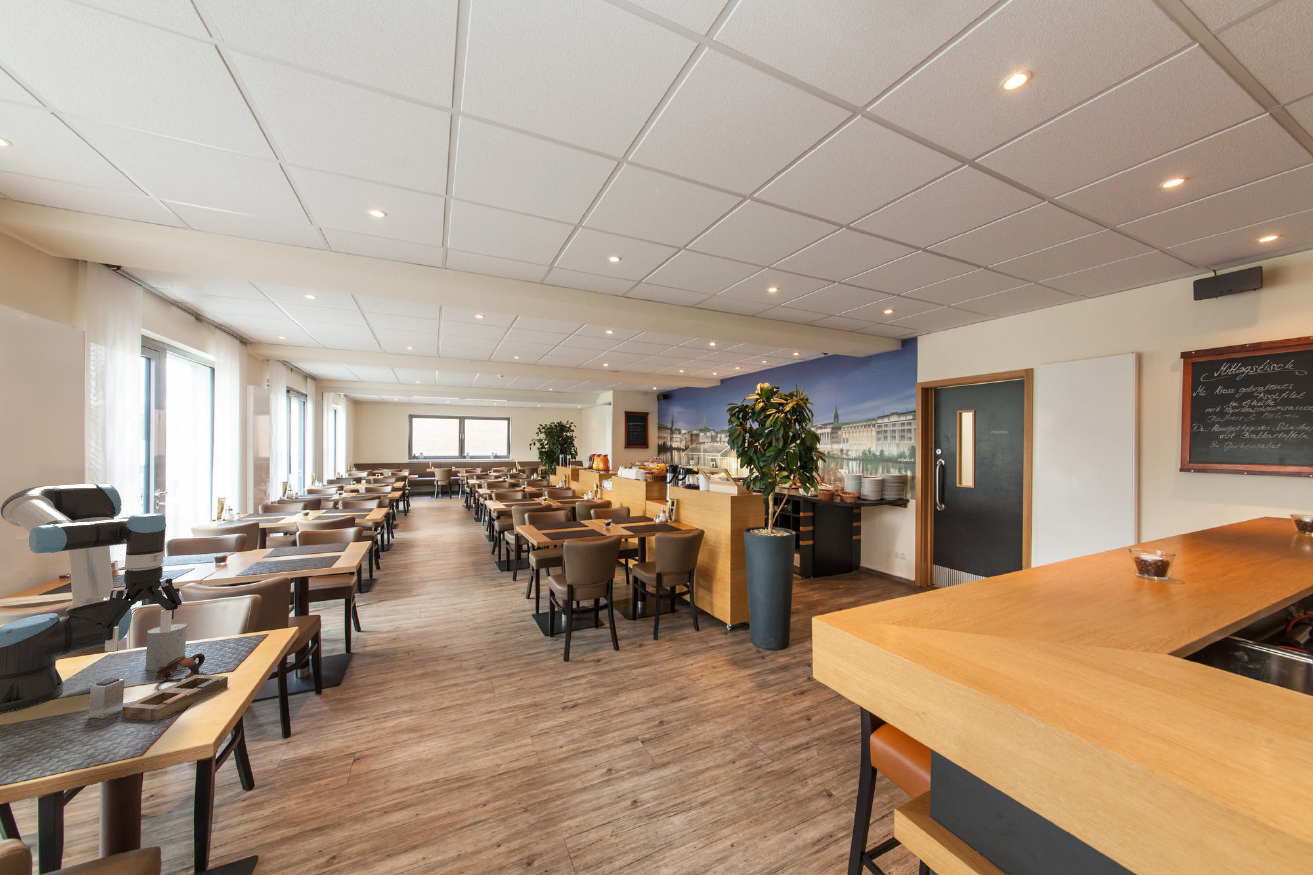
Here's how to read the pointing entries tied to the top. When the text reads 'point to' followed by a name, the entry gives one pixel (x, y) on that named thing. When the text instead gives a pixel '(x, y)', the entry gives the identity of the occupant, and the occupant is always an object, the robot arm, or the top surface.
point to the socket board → (174, 697)
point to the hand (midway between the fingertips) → (139, 641)
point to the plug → (106, 698)
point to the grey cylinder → (165, 646)
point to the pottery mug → (184, 662)
